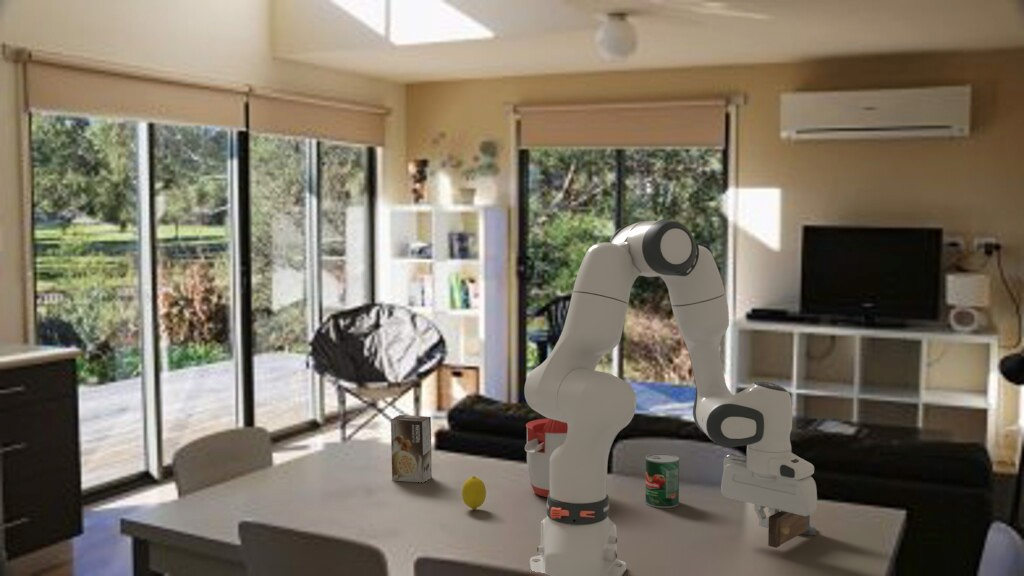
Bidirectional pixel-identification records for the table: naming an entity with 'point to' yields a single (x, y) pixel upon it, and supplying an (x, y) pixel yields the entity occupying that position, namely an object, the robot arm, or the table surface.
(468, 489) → the lemon
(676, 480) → the canned tomato
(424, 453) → the coffee box
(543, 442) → the citrus juicer
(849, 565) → the table surface
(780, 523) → the gate leaf
